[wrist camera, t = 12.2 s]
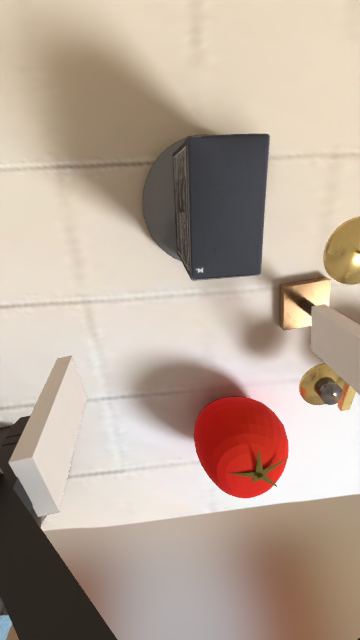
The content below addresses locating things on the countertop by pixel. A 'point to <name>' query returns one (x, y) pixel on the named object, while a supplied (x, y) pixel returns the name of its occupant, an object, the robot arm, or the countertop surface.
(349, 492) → the countertop surface
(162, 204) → the dish
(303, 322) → the balance
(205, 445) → the tomato
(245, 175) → the small box
